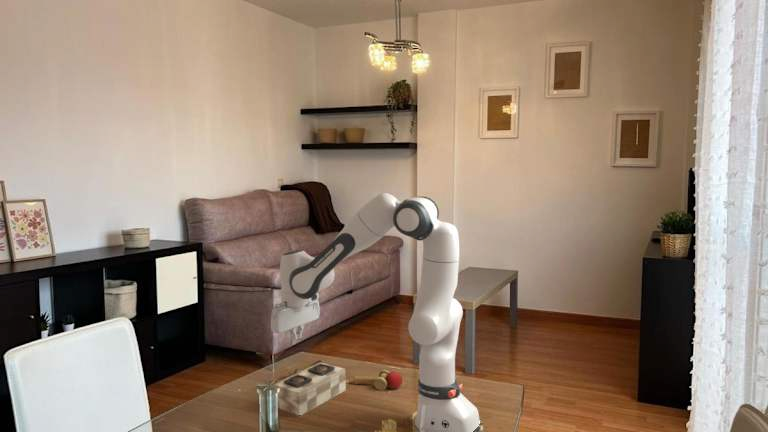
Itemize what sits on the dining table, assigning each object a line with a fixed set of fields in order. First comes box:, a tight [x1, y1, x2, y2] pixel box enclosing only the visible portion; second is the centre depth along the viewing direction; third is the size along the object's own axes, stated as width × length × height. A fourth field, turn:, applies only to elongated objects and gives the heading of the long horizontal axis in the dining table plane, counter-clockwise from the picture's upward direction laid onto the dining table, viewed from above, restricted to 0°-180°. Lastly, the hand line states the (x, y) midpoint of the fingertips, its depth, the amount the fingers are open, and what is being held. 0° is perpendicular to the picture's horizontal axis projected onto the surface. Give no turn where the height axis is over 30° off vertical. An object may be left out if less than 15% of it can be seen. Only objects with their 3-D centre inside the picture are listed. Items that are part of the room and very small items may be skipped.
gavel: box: [288, 359, 324, 377], centre depth 223 cm, size 21×5×10 cm
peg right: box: [316, 366, 327, 371], centre depth 204 cm, size 4×4×8 cm
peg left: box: [292, 377, 304, 383], centre depth 194 cm, size 4×4×8 cm
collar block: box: [272, 362, 347, 416], centre depth 199 cm, size 12×24×9 cm, turn 145°
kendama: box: [353, 369, 403, 391], centre depth 209 cm, size 8×6×18 cm
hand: (296, 338), depth 192 cm, fingers closed
